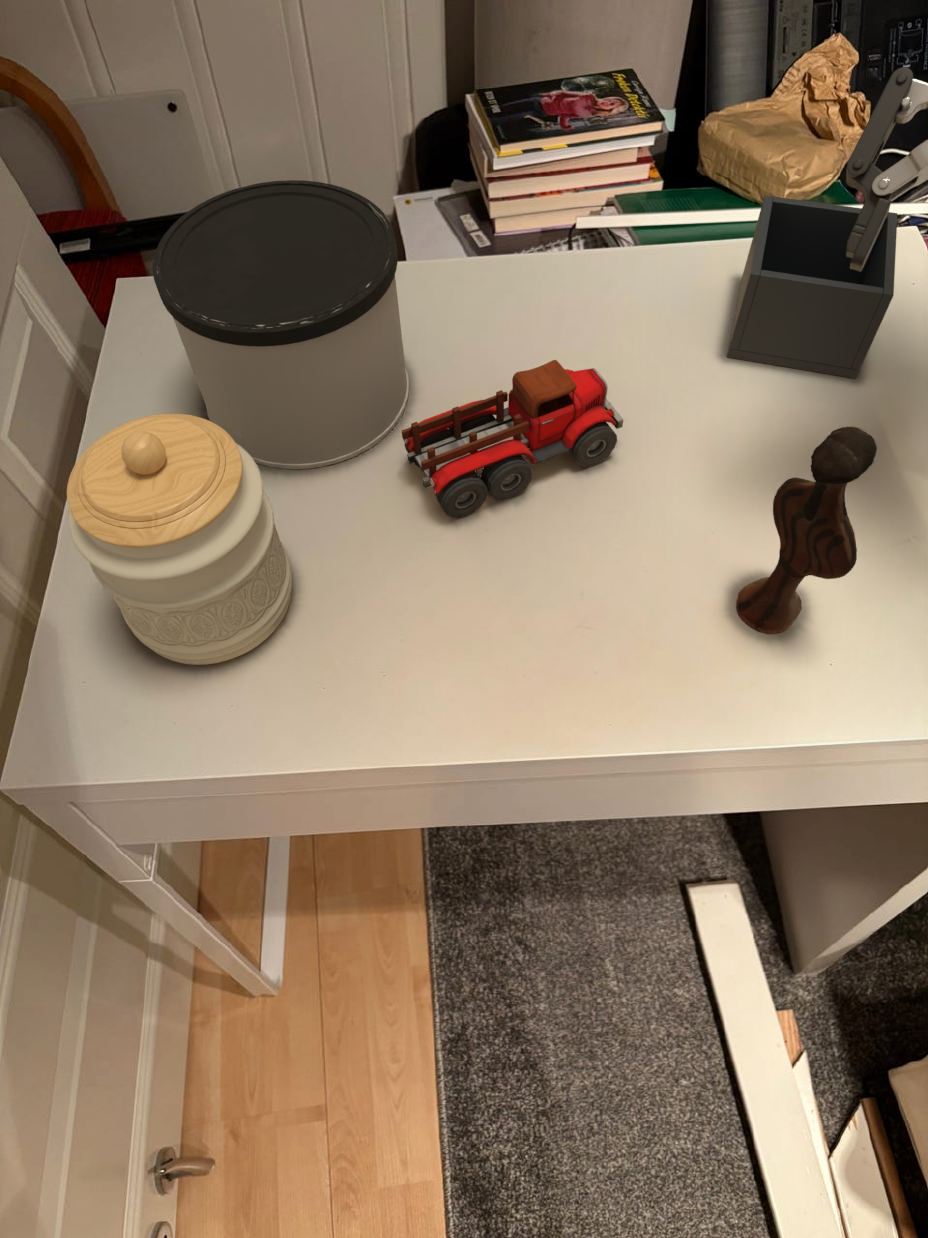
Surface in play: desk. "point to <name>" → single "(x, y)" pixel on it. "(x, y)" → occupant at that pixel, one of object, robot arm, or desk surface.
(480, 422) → the toy truck
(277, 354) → the container
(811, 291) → the bin
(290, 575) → the jar
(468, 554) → the desk surface
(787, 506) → the figurine
